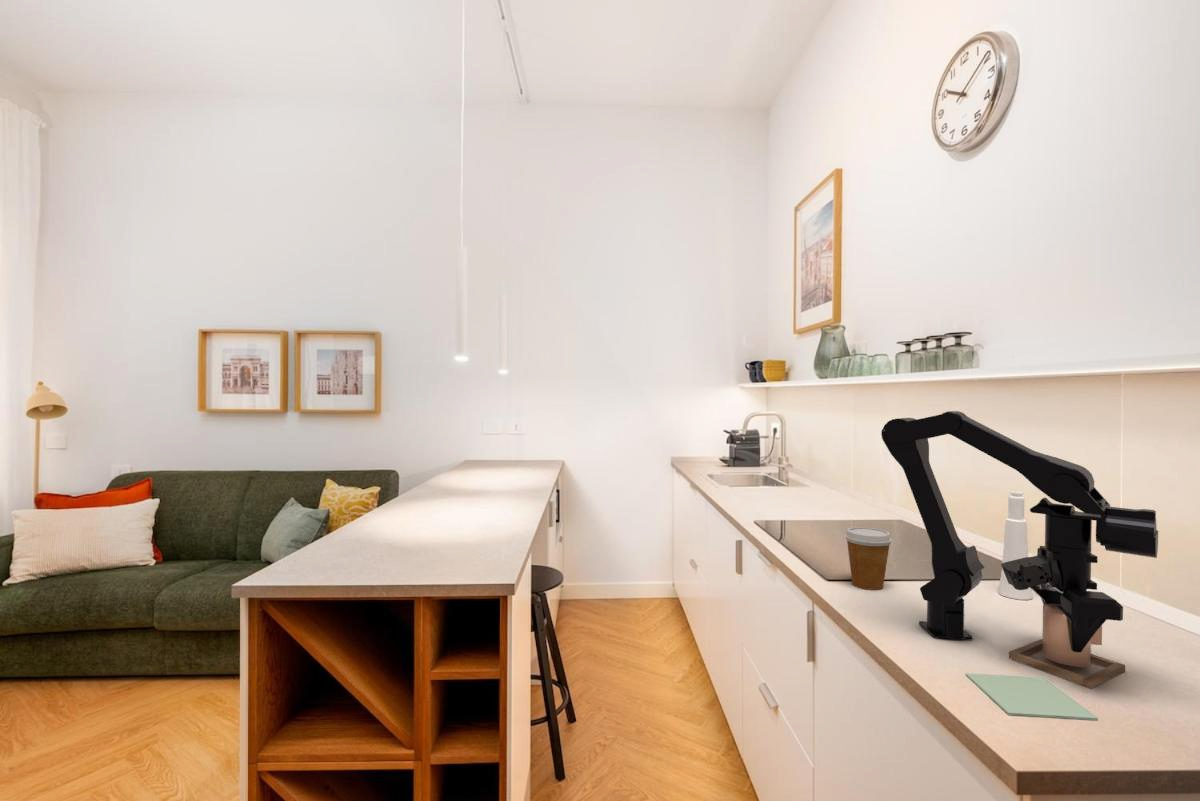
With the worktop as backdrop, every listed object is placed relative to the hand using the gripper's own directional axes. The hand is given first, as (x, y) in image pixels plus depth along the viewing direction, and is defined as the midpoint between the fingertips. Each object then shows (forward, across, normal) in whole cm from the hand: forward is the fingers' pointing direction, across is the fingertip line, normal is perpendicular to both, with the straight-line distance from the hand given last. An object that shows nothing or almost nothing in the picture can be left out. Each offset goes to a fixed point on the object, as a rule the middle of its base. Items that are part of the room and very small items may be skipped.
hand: (1066, 643), depth 92 cm
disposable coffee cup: (+4, -32, -24) cm, 40 cm away
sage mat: (+3, +13, -10) cm, 17 cm away
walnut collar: (+3, 0, 0) cm, 3 cm away
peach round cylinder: (+2, 0, 0) cm, 2 cm away
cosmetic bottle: (+4, -34, +5) cm, 35 cm away
